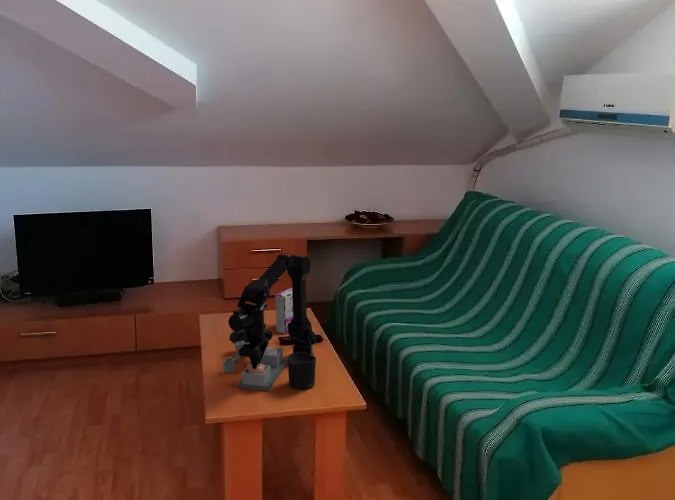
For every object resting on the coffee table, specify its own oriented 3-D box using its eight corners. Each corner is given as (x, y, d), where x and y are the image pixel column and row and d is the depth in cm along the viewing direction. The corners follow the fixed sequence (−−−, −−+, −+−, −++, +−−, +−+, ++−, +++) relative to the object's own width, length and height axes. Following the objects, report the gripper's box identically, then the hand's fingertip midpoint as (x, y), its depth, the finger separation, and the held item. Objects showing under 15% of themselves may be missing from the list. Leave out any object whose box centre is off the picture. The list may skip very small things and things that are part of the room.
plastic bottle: (246, 354, 259) (272, 350, 243) (230, 351, 255) (255, 346, 239) (249, 337, 261) (274, 332, 245) (233, 334, 257) (257, 328, 241)
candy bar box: (291, 324, 287) (290, 287, 283) (300, 326, 285) (300, 289, 281) (275, 332, 278) (274, 294, 274) (285, 334, 275) (284, 296, 271)
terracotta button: (266, 374, 232) (266, 363, 231) (262, 381, 226) (261, 370, 225) (251, 373, 233) (250, 362, 232) (246, 380, 227) (245, 369, 226)
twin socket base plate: (287, 362, 248) (287, 348, 247) (269, 391, 225) (268, 375, 224) (258, 360, 250) (258, 346, 249) (237, 388, 227) (236, 372, 226)
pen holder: (288, 391, 225) (288, 363, 223) (287, 379, 234) (287, 352, 232) (316, 390, 226) (316, 362, 224) (314, 378, 235) (314, 351, 233)
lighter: (224, 373, 238) (223, 352, 237) (223, 371, 240) (222, 350, 238) (243, 369, 242) (243, 348, 240) (242, 368, 243) (241, 347, 241)
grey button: (279, 358, 247) (279, 348, 246) (275, 364, 242) (275, 354, 241) (264, 357, 248) (264, 346, 247) (260, 363, 243) (260, 352, 242)
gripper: (241, 311, 235) (242, 353, 239) (222, 330, 217) (224, 375, 221) (272, 314, 233) (272, 356, 237) (255, 333, 215) (256, 378, 219)
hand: (256, 366), depth 229 cm, fingers closed on terracotta button, 3 cm apart
